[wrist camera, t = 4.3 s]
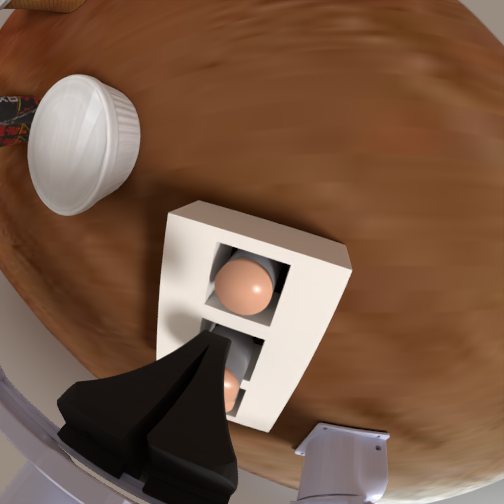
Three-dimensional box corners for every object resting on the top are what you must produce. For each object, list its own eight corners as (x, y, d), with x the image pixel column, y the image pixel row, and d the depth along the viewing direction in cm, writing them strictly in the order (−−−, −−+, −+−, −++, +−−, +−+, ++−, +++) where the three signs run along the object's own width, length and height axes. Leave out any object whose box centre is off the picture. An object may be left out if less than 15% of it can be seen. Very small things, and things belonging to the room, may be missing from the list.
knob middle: (259, 333, 18) (242, 379, 14) (248, 365, 20) (231, 410, 15) (213, 317, 19) (186, 358, 15) (206, 350, 20) (182, 391, 16)
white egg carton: (345, 245, 18) (353, 274, 14) (277, 398, 25) (267, 436, 20) (198, 200, 20) (164, 214, 15) (176, 361, 26) (154, 393, 22)
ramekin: (159, 197, 21) (117, 211, 16) (73, 207, 23) (34, 221, 18) (151, 65, 17) (109, 50, 12) (66, 103, 20) (26, 102, 15)
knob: (288, 246, 19) (278, 273, 15) (275, 288, 20) (262, 322, 16) (242, 232, 19) (220, 254, 15) (232, 274, 21) (210, 303, 17)
